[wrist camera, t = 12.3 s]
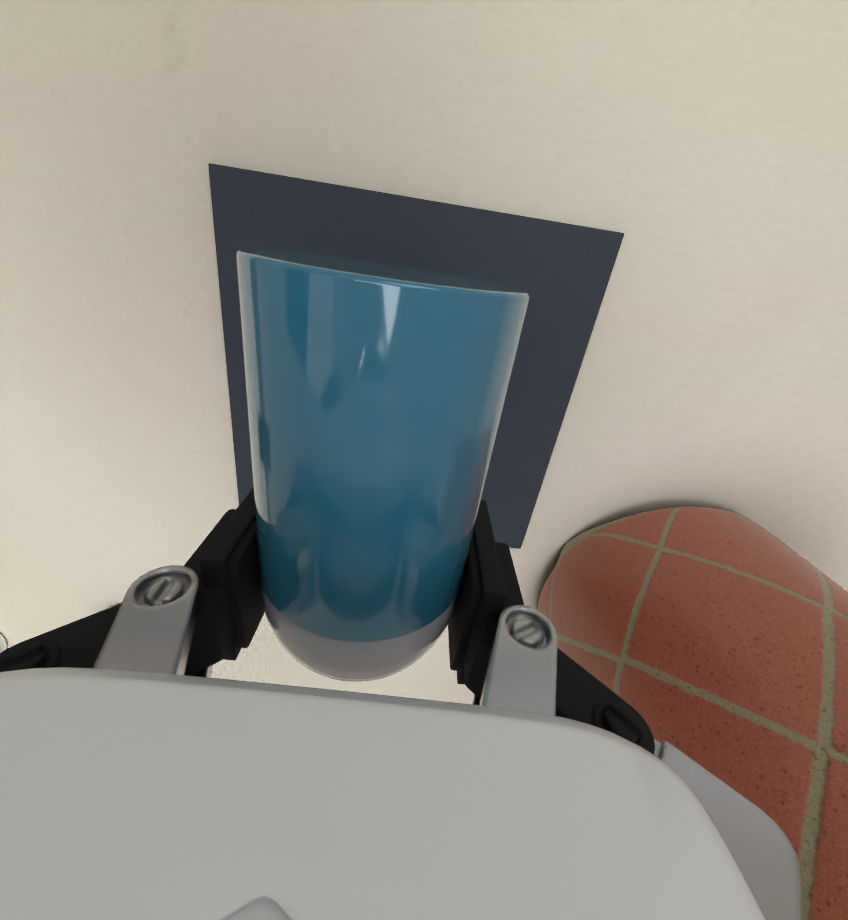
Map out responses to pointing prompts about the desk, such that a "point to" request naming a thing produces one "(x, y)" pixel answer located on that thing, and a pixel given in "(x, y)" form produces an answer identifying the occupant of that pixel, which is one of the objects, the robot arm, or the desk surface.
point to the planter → (724, 664)
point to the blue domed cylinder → (369, 447)
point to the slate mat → (441, 250)
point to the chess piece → (2, 644)
